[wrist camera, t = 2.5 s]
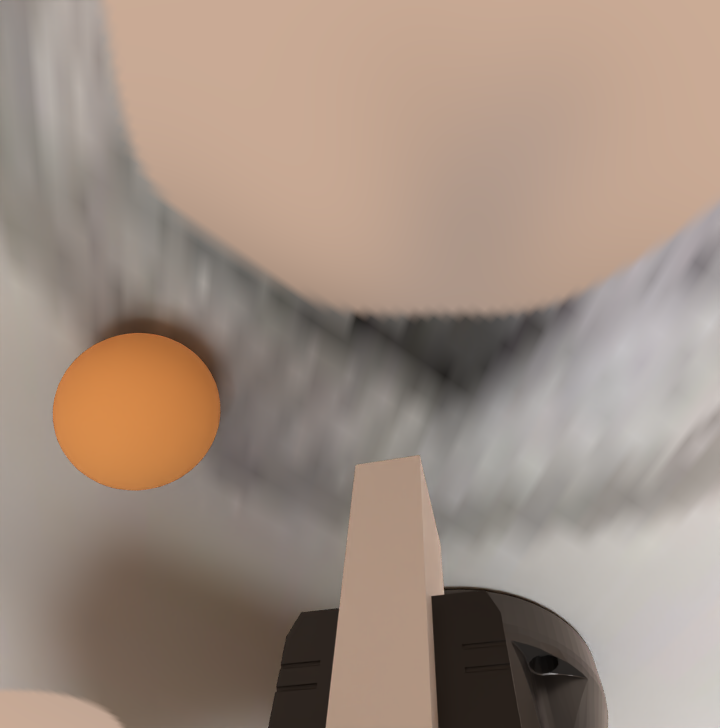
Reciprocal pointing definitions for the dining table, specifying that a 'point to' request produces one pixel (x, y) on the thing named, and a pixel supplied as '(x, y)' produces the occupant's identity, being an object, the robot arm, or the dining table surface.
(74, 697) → the dining table surface
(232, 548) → the dining table surface
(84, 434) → the ball
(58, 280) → the dining table surface
